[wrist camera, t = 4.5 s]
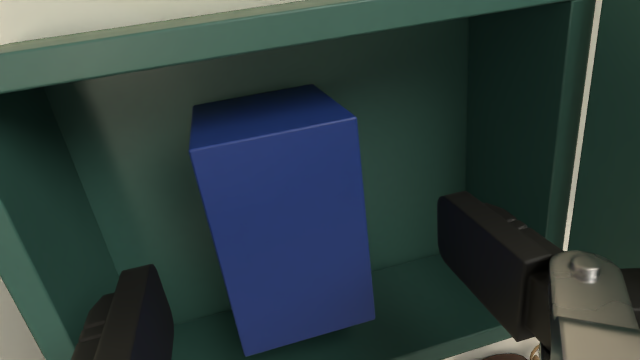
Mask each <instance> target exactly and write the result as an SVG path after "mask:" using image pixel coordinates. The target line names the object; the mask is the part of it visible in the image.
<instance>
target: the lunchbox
mask: <svg viewBox="0 0 640 360" xmlns="http://www.w3.org/2000/svg"><path fill="white" fill-rule="evenodd" d="M595 3H596V0H305V1H298V2H291V3H284V4H277V5H270V6H263V7H257V8H250V9H243V10H236V11H229V12H222V13H215V14H208V15H201V16H195V17H188V18H181V19H174V20H167V21H160V22H153V23H146V24H140V25H133V26H126V27H119V28H112V29H105V30H98V31H91V32H84V33H78V34H71V35H64V36H57V37H50V38H43V39H36V40H29V41H22V42H16V43H9V44H5V45H0V276H1V278H2V280H3V282H4V284H5V285H6V287H7V289H8V291H9V293H10V295H11V296H12V298H13V300H14V302H15V304H16V306H17V308H18V309H19V311H20V313H21V315H22V317H23V319H24V320H25V322H26V324H27V326H28V328H29V330H30V332H31V333H32V335H33V337H34V339H35V341H36V343H37V344H38V346H39V348H40V350H41V352H42V354H43V355H44V357H45V359H46V360H71V358H72V355H73V353H74V350H75V347H76V345H77V344H78V343H79V342H78V339H79V337H80V334H81V332H82V330H84V328H83V326H84V324H85V321H86V318H87V316H88V313H89V311H90V310H91V308H92V307H93V306H94V305H95V304H96V303H97V302H98V301H99V299H100V298H101V297H102V296H103V295H106V294H110V293H114V292H115V290H116V286H117V283H118V280H119V277H120V274H121V272H122V271H123V270H127V269H131V268H135V267H140V266H144V265H148V264H154V266H155V267H156V269H157V272H158V275H159V277H160V280H161V283H162V286H163V289H164V292H165V295H166V298H167V300H168V303H169V306H170V309H171V313H172V317H173V323H174V339H173V349H172V359H171V360H442V359H445V358H448V357H452V356H455V355H458V354H461V353H464V352H467V351H470V350H474V349H477V348H480V347H483V346H486V345H489V344H492V343H496V342H499V341H502V340H505V339H508V338H511V337H512V336H511V335H510V334H509V333H508V332H507V331H506V329H505V328H504V327H503V326H502V325H501V324H500V323H499V322H498V321H497V319H496V318H495V317H494V316H493V315H492V314H491V313H490V312H489V311H488V310H487V308H486V307H485V306H484V305H483V304H482V303H481V302H480V301H479V300H478V299H477V297H476V296H475V295H474V294H473V293H472V292H471V291H470V290H469V289H468V287H467V286H466V285H465V284H464V283H463V282H462V281H461V280H460V279H459V278H458V276H457V275H456V274H455V273H454V272H453V271H452V270H451V269H450V268H449V267H448V265H447V264H446V263H445V262H444V260H443V259H442V257H441V254H440V252H439V248H438V233H437V202H438V199H439V197H440V196H444V195H448V194H452V193H456V192H461V191H467V192H469V193H470V194H471V195H473V196H474V197H476V198H477V199H478V200H480V201H481V202H482V203H489V204H491V205H494V206H497V207H500V208H503V209H505V210H506V211H508V212H509V213H510V214H512V215H513V216H515V217H516V218H517V220H520V221H522V222H523V223H525V224H526V225H527V226H528V228H532V229H533V230H535V231H536V232H537V233H539V234H540V235H542V236H543V237H544V238H546V239H547V240H549V241H550V242H552V243H553V244H554V245H556V246H557V247H559V248H560V249H561V250H563V243H564V235H565V228H566V220H567V213H568V205H569V198H570V190H571V183H572V175H573V168H574V160H575V153H576V146H577V138H578V131H579V123H580V116H581V108H582V101H583V93H584V86H585V78H586V71H587V63H588V56H589V48H590V41H591V33H592V26H593V18H594V11H595ZM309 84H313V85H315V86H316V87H317V88H319V89H320V90H321V91H323V92H324V93H325V94H327V95H328V96H329V97H331V98H332V99H333V100H335V101H336V102H337V103H339V104H340V105H341V106H343V107H344V108H345V109H347V110H348V111H349V112H351V113H352V114H353V115H355V116H356V117H357V123H358V134H359V145H360V155H361V166H362V177H363V188H364V198H365V209H366V220H367V231H368V241H369V252H370V263H371V274H372V284H373V295H374V306H375V319H374V320H371V321H368V322H364V323H361V324H358V325H354V326H351V327H347V328H344V329H340V330H337V331H333V332H330V333H327V334H323V335H320V336H316V337H313V338H309V339H306V340H302V341H299V342H296V343H292V344H289V345H285V346H282V347H278V348H275V349H271V350H268V351H265V352H261V353H258V354H254V355H251V356H247V357H245V355H244V353H243V350H242V346H241V342H240V339H239V335H238V331H237V328H236V324H235V320H234V317H233V313H232V309H231V306H230V302H229V298H228V295H227V291H226V287H225V284H224V280H223V276H222V273H221V269H220V265H219V262H218V258H217V255H216V251H215V247H214V244H213V240H212V236H211V233H210V229H209V225H208V222H207V218H206V214H205V211H204V207H203V203H202V200H201V196H200V192H199V189H198V185H197V181H196V178H195V174H194V171H193V167H192V163H191V160H190V156H189V141H190V130H191V119H192V108H193V106H194V105H199V104H205V103H210V102H216V101H221V100H227V99H232V98H238V97H243V96H249V95H254V94H260V93H265V92H271V91H276V90H282V89H287V88H293V87H298V86H304V85H309Z"/></svg>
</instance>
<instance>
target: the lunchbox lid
mask: <svg viewBox="0 0 640 360" xmlns="http://www.w3.org/2000/svg"><path fill="white" fill-rule="evenodd" d="M568 251H585V252H590V253H594V254H597V255H600V256H602V257H605V258H607V259H608V260H610V261H612V262H613V263H614V264H616V265H617V266H618V267H619V269H626V268H640V0H603V1H602V8H601V15H600V22H599V29H598V36H597V43H596V51H595V58H594V65H593V72H592V79H591V86H590V94H589V101H588V108H587V115H586V122H585V129H584V136H583V144H582V151H581V158H580V165H579V172H578V179H577V187H576V194H575V201H574V208H573V215H572V222H571V230H570V237H569V244H568Z"/></svg>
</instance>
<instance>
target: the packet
mask: <svg viewBox="0 0 640 360" xmlns="http://www.w3.org/2000/svg"><path fill="white" fill-rule="evenodd" d="M189 156H190V160H191V163H192V167H193V171H194V174H195V178H196V181H197V185H198V189H199V192H200V196H201V200H202V203H203V207H204V211H205V214H206V218H207V222H208V225H209V229H210V233H211V236H212V240H213V244H214V247H215V251H216V255H217V258H218V262H219V265H220V269H221V273H222V276H223V280H224V284H225V287H226V291H227V295H228V298H229V302H230V306H231V309H232V313H233V317H234V320H235V324H236V328H237V331H238V335H239V339H240V342H241V346H242V350H243V353H244V355H245V357H247V356H251V355H254V354H258V353H261V352H265V351H268V350H271V349H275V348H278V347H282V346H285V345H289V344H292V343H296V342H299V341H302V340H306V339H309V338H313V337H316V336H320V335H323V334H327V333H330V332H333V331H337V330H340V329H344V328H347V327H351V326H354V325H358V324H361V323H364V322H368V321H371V320H374V319H375V306H374V295H373V284H372V274H371V263H370V252H369V241H368V231H367V220H366V209H365V198H364V188H363V177H362V166H361V155H360V145H359V134H358V123H357V117H356V116H355V115H353V114H352V113H351V112H349V111H348V110H347V109H345V108H344V107H343V106H341V105H340V104H339V103H337V102H336V101H335V100H333V99H332V98H331V97H329V96H328V95H327V94H325V93H324V92H323V91H321V90H320V89H319V88H317V87H316V86H315V85H313V84H309V85H304V86H298V87H293V88H287V89H282V90H276V91H271V92H265V93H260V94H254V95H249V96H243V97H238V98H232V99H227V100H221V101H216V102H210V103H205V104H199V105H194V106H193V108H192V119H191V130H190V141H189Z"/></svg>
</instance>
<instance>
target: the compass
mask: <svg viewBox="0 0 640 360" xmlns="http://www.w3.org/2000/svg"><path fill="white" fill-rule="evenodd" d="M539 345H540V344H539ZM539 345H538V346H536V347H535V348H534V350H533V351H532V352H531V355H530V360H539V357H538V356H536V355H535V356H534V357H533V355H534V353H535V352H536V351H537V349H539ZM483 360H527V359H526V358H524V357H523V356H521V355H516V354H499V355H494V356H491V357H488V358H485V359H483Z"/></svg>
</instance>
